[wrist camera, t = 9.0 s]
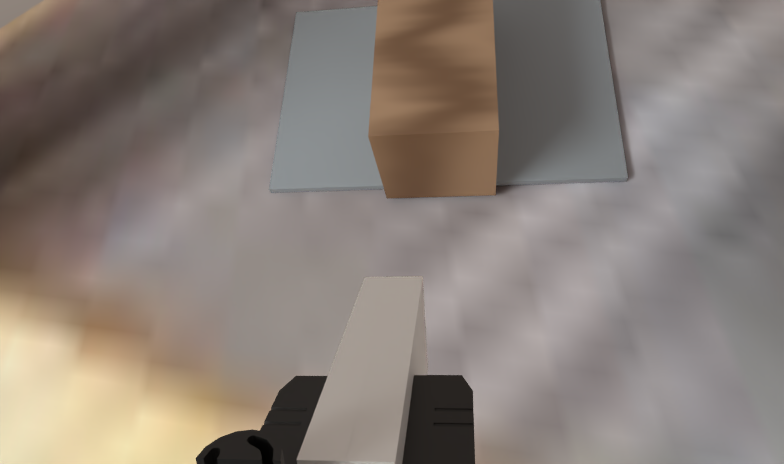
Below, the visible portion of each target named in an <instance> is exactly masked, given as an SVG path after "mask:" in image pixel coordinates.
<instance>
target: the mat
mask: <svg viewBox="0 0 784 464" xmlns="http://www.w3.org/2000/svg"><path fill="white" fill-rule="evenodd" d="M493 15H494V36H495V57H496V79H497V100H498V121H499V139H498V158H497V177H496V185H528V184H559V183H590V182H621V181H627V179H628V174H627V168H626V162H625V155H624V149H623V142H622V136H621V130H620V123H619V117H618V111H617V104H616V98H615V91H614V85H613V79H612V72H611V66H610V60H609V53H608V47H607V40H606V34H605V28H604V21H603V15H602V9H601V2H600V0H493ZM376 19H377V6H371V7H358V8H345V9H333V10H320V11H307V12H296V18H295V24H294V31H293V37H292V44H291V50H290V57H289V63H288V70H287V76H286V83H285V89H284V96H283V102H282V109H281V115H280V122H279V128H278V135H277V141H276V148H275V154H274V161H273V167H272V174H271V180H270V187H269V190H270V192H271V193H278V192H309V191H340V190H372V189H384V187H383V184H382V181H381V177H380V174H379V171H378V167H377V164H376V161H375V157H374V154H373V151H372V147H371V144H370V141H369V137H368V132H369V118H370V104H371V90H372V76H373V62H374V47H375V33H376Z"/></svg>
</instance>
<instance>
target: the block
mask: <svg viewBox="0 0 784 464" xmlns="http://www.w3.org/2000/svg"><path fill="white" fill-rule="evenodd" d="M368 137H369V141H370V144H371V147H372V151H373V154H374V157H375V161H376V164H377V167H378V171H379V174H380V177H381V181H382V184H383V187H384V191H385V194H386V197H387V198H414V197H447V196H480V195H496V177H497V158H498V139H499V121H498V100H497V79H496V57H495V36H494V15H493V0H378V5H377V19H376V33H375V47H374V62H373V76H372V90H371V104H370V118H369V132H368Z"/></svg>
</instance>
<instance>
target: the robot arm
mask: <svg viewBox="0 0 784 464" xmlns="http://www.w3.org/2000/svg"><path fill="white" fill-rule="evenodd" d="M427 371H428V363H427V345H426V327H425V309H424V290H423V276H407V277H365V278H364V281H363V283H362V286H361V289H360V291H359V294H358V297H357V299H356V302H355V305H354V307H353V310H352V313H351V315H350V318H349V321H348V323H347V326H346V329H345V331H344V334H343V337H342V339H341V342H340V345H339V347H338V350H337V353H336V355H335V358H334V361H333V363H332V366H331V369H330V371H329V374H328V376H296V377H294V378H293V379H292V380H291V381H290V382H289V383H288V384H286V385H285V386H284V387H283V388H282V389H281V390H280V391H279V393H278V395H277V397H276V399H275V401H274V403H273V405H272V407H271V411H269V413H268V415H267V417H266V419H265V421H264V422H265V423H264V425H263V426H262V428H261V430H260V431H257V430H246V431H237V432H234V433H231V434H228V435H225V436H223V437H220V438H218V439H217V440H215V441H214V442H212V443H211V444H209V445H208V446H206V447H205V448H204V449H203V451H202V452H201V453H200V454H199V455H198V456H197V457H196V461H197V464H475V449H474V418H473V391H472V389H471V388H470V386H469V385H468V383H467V382H466V381H465V379H464V378H463V376H462V375H427Z"/></svg>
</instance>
